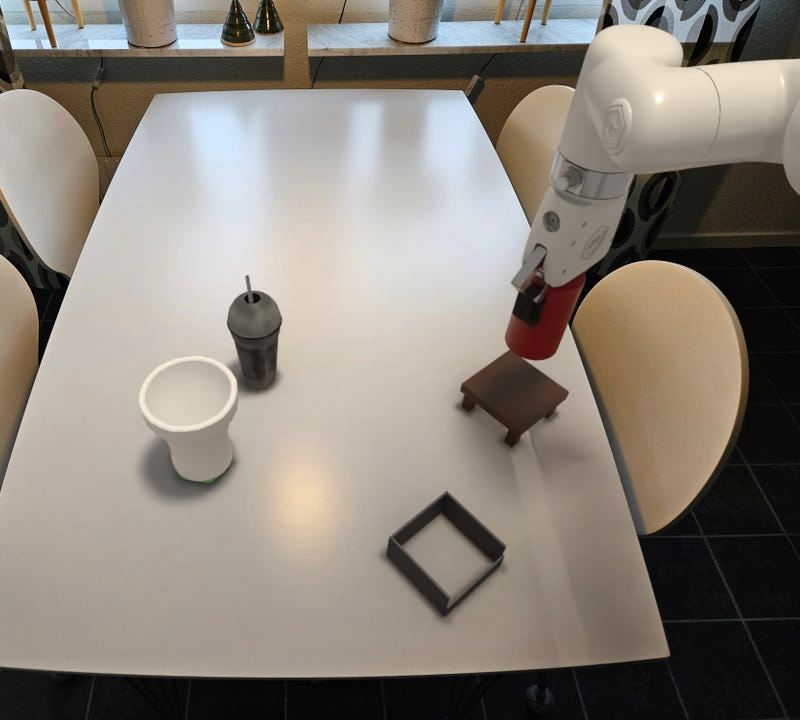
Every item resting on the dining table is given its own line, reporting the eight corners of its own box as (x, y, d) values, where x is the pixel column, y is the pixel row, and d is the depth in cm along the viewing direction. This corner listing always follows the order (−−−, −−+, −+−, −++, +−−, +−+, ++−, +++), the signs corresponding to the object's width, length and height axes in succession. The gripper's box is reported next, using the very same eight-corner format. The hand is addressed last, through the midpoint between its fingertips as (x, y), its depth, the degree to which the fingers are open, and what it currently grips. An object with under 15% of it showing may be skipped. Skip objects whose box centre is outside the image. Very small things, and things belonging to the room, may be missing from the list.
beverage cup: (290, 362, 95) (285, 255, 80) (279, 400, 90) (272, 293, 76) (242, 356, 96) (228, 248, 81) (229, 393, 91) (212, 286, 76)
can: (568, 344, 79) (597, 275, 71) (535, 369, 76) (562, 300, 68) (526, 316, 82) (549, 247, 74) (493, 338, 80) (514, 269, 72)
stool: (558, 414, 89) (569, 391, 85) (512, 453, 85) (521, 430, 81) (502, 372, 94) (510, 349, 91) (455, 406, 90) (461, 383, 86)
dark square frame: (500, 565, 74) (509, 547, 71) (444, 617, 70) (451, 600, 67) (441, 509, 79) (446, 490, 76) (385, 555, 75) (389, 536, 72)
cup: (142, 464, 83) (117, 395, 73) (205, 412, 89) (191, 340, 78) (202, 515, 78) (184, 448, 68) (265, 457, 84) (258, 387, 74)
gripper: (571, 221, 56) (522, 360, 69) (677, 155, 64) (614, 292, 77) (503, 184, 60) (469, 322, 73) (611, 126, 67) (562, 260, 81)
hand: (544, 305), depth 75 cm, fingers closed on can, 6 cm apart
